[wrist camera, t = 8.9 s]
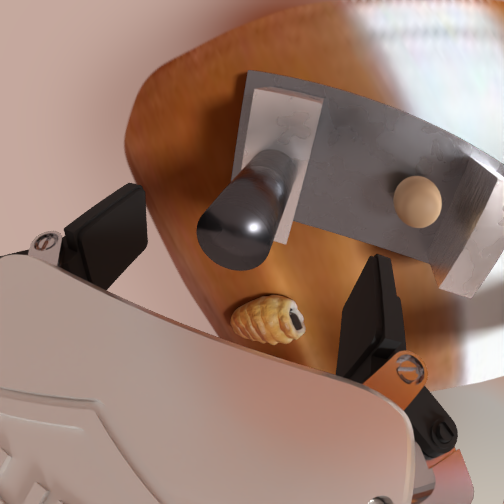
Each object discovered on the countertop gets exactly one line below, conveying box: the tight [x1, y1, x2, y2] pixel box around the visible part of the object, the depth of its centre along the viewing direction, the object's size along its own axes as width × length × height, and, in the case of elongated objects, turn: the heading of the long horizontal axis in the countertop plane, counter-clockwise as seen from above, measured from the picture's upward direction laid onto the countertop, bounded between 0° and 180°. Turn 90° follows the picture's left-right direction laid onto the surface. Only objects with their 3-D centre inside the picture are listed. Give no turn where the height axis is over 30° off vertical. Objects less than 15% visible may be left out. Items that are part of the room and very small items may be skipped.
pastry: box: [230, 295, 306, 345], centre depth 34 cm, size 9×7×4 cm
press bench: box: [231, 70, 504, 299], centre depth 19 cm, size 24×12×6 cm, turn 81°
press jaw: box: [197, 86, 324, 271], centre depth 16 cm, size 4×10×13 cm, turn 170°
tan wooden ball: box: [393, 176, 442, 228], centre depth 19 cm, size 4×4×4 cm
